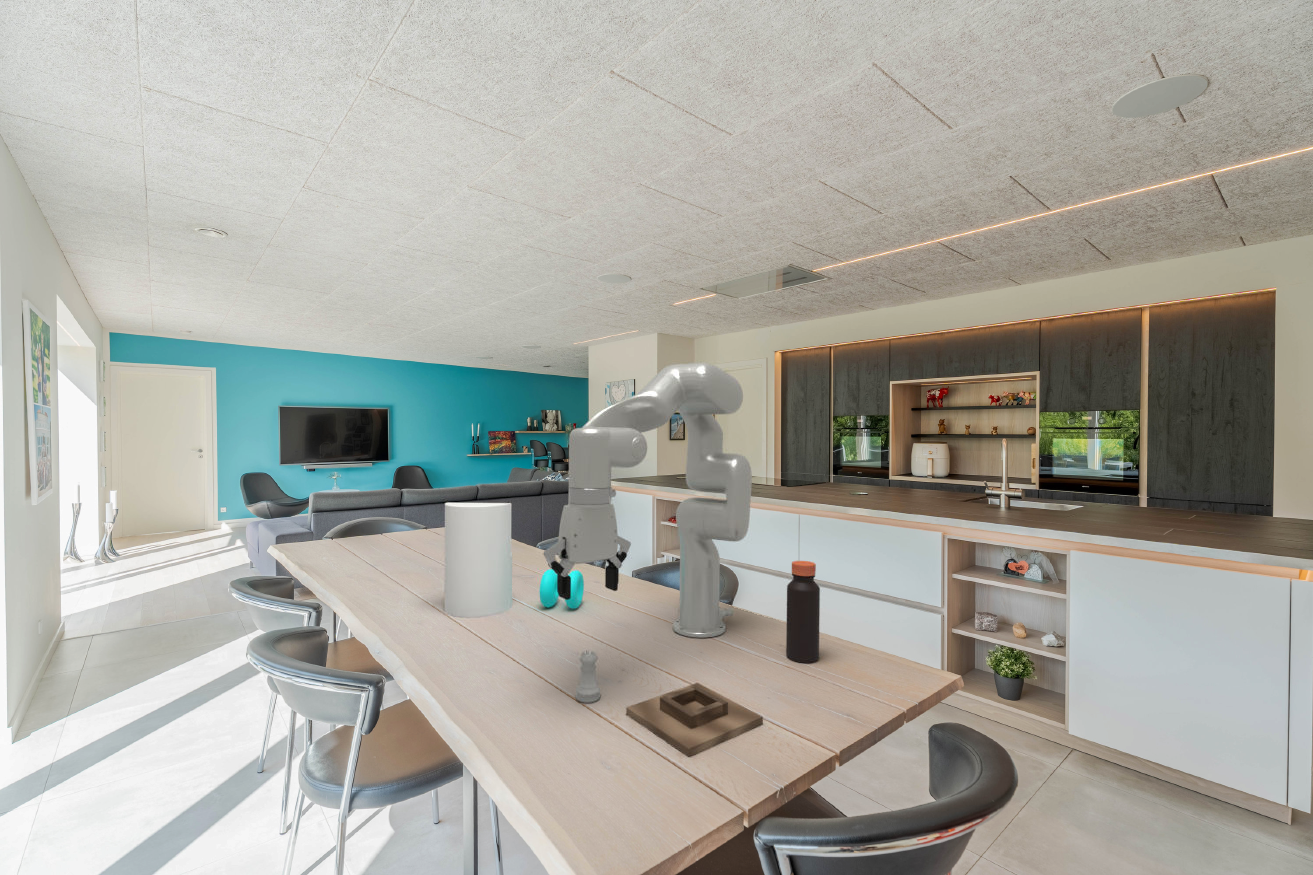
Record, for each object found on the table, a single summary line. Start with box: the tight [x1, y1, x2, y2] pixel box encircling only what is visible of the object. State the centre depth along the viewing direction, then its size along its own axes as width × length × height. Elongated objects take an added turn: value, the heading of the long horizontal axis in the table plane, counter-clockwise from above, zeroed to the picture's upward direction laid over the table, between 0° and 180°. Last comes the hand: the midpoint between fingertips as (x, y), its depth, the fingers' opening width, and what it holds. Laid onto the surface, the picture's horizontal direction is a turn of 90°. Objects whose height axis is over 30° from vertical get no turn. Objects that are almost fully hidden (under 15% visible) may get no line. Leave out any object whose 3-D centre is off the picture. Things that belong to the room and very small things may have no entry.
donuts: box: [539, 568, 585, 610], centre depth 157 cm, size 10×10×10 cm
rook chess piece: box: [575, 650, 602, 704], centre depth 104 cm, size 4×4×8 cm
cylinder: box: [444, 502, 513, 619], centre depth 156 cm, size 17×17×28 cm
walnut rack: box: [625, 682, 764, 758], centre depth 97 cm, size 16×16×3 cm
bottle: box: [785, 560, 821, 664], centre depth 123 cm, size 7×7×20 cm
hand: (588, 593), depth 104 cm, fingers open, 9 cm apart
